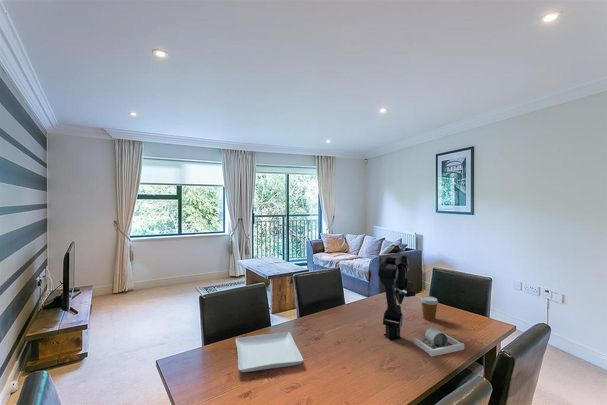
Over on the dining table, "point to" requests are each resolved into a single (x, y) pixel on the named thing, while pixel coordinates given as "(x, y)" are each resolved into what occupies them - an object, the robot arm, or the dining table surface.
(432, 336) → the ceramic mug
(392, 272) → the robot arm
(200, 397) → the dining table surface
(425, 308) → the disposable coffee cup
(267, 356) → the square plate
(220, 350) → the dining table surface
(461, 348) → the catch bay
